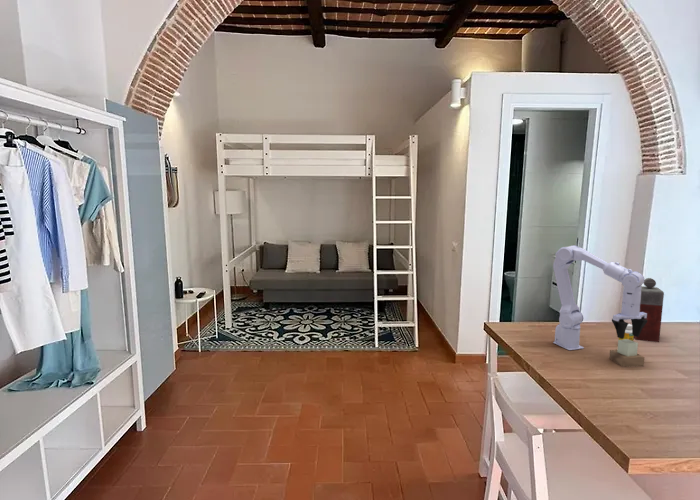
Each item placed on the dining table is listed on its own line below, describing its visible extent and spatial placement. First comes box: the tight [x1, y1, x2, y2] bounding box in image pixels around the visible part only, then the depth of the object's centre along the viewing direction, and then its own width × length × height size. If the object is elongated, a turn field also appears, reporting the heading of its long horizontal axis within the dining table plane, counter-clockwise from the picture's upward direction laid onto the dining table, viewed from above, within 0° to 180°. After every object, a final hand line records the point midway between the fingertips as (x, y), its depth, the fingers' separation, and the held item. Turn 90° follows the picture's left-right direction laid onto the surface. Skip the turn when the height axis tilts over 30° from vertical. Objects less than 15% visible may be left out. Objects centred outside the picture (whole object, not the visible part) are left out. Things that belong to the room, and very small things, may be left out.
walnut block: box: [608, 349, 645, 368], centre depth 157 cm, size 8×8×4 cm
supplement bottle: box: [618, 323, 635, 341], centre depth 174 cm, size 5×5×10 cm
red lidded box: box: [634, 277, 665, 343], centre depth 183 cm, size 9×11×28 cm
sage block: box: [616, 339, 639, 356], centre depth 156 cm, size 4×4×5 cm
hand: (628, 337), depth 155 cm, fingers open, 7 cm apart
